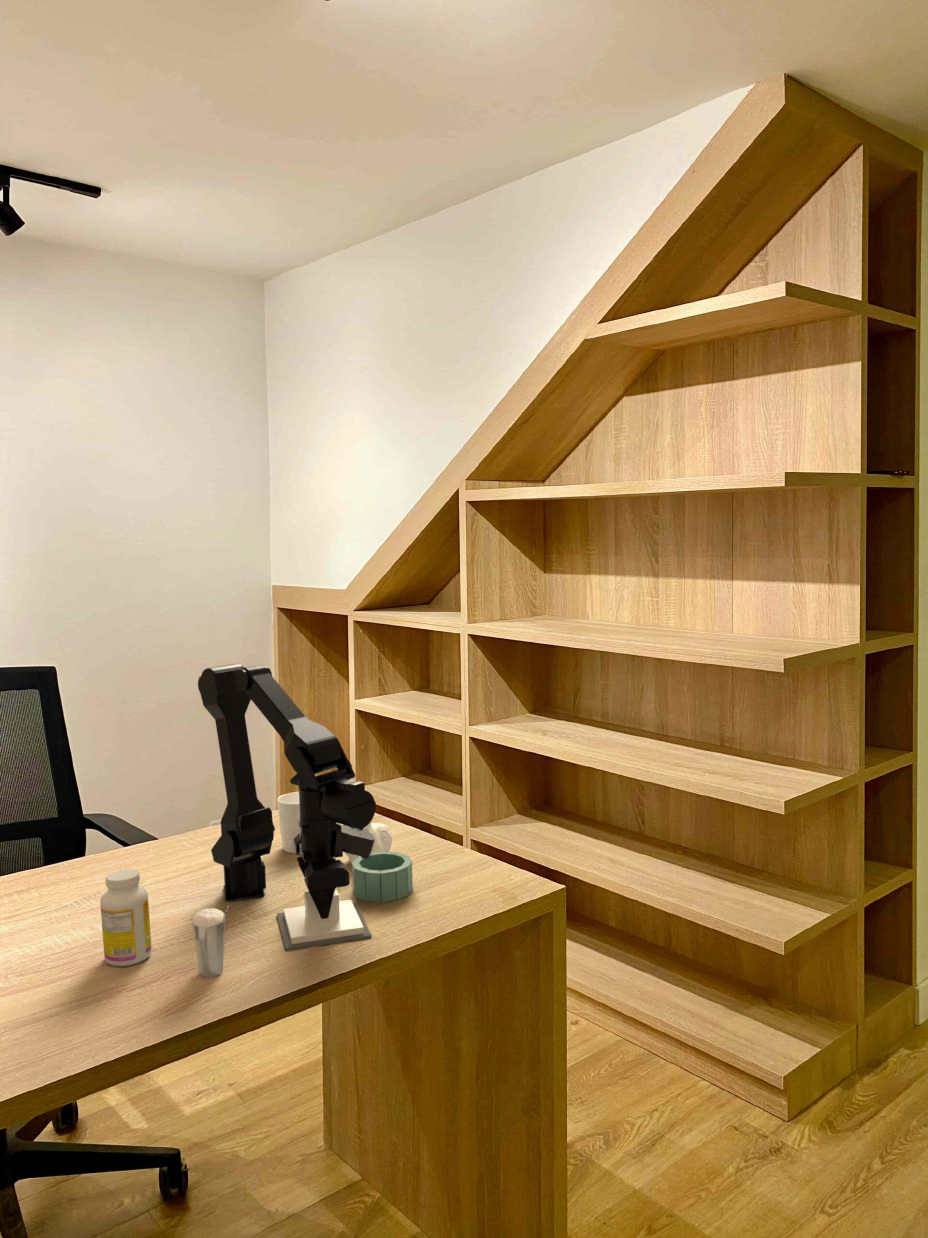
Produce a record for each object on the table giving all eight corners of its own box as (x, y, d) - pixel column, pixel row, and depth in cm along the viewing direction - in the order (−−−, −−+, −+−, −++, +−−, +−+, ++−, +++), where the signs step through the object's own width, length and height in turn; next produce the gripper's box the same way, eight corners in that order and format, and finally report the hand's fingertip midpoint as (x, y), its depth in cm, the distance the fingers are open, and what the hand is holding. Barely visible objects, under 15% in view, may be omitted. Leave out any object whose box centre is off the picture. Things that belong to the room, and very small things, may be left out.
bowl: (359, 905, 157) (358, 876, 157) (349, 883, 167) (348, 855, 166) (417, 897, 160) (417, 868, 160) (404, 875, 170) (403, 848, 169)
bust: (387, 860, 184) (360, 809, 187) (409, 843, 179) (381, 791, 183) (342, 879, 174) (314, 825, 178) (365, 862, 170) (336, 807, 173)
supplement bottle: (136, 943, 145) (131, 862, 143) (160, 955, 141) (155, 872, 139) (95, 960, 140) (89, 876, 138) (119, 973, 136) (114, 887, 134)
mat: (285, 950, 141) (285, 948, 141) (276, 915, 154) (276, 913, 154) (371, 937, 145) (371, 935, 145) (356, 904, 158) (355, 902, 158)
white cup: (328, 844, 186) (326, 795, 185) (301, 857, 180) (299, 806, 178) (298, 838, 190) (296, 789, 189) (270, 850, 184) (268, 800, 183)
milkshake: (224, 982, 132) (220, 913, 131) (189, 979, 133) (185, 911, 132) (238, 966, 137) (235, 900, 136) (204, 963, 138) (200, 897, 137)
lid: (291, 944, 143) (290, 912, 142) (283, 915, 153) (282, 885, 153) (363, 933, 146) (362, 902, 145) (351, 905, 156) (350, 876, 156)
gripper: (381, 828, 141) (384, 928, 143) (358, 793, 159) (361, 882, 160) (306, 836, 138) (310, 939, 139) (291, 800, 155) (295, 891, 157)
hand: (322, 911), depth 149 cm, fingers open, 5 cm apart
